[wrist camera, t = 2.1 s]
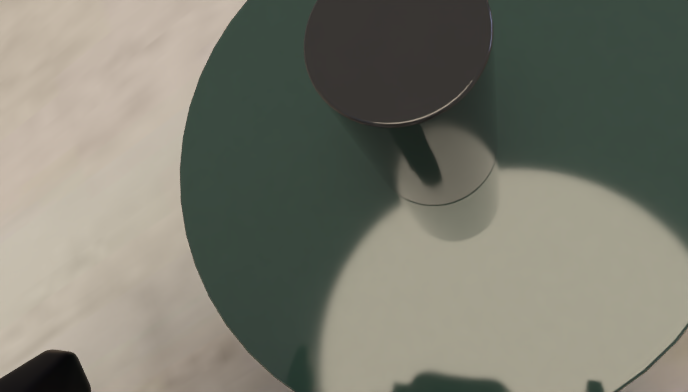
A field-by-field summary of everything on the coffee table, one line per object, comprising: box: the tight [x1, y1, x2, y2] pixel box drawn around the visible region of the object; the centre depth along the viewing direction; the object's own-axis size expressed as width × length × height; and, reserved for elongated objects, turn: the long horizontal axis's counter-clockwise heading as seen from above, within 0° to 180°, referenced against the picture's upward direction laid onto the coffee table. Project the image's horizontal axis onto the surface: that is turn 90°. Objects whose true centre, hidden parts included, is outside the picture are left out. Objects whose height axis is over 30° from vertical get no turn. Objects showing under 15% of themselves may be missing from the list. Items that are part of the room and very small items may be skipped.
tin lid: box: [180, 0, 688, 392], centre depth 13 cm, size 14×14×7 cm
